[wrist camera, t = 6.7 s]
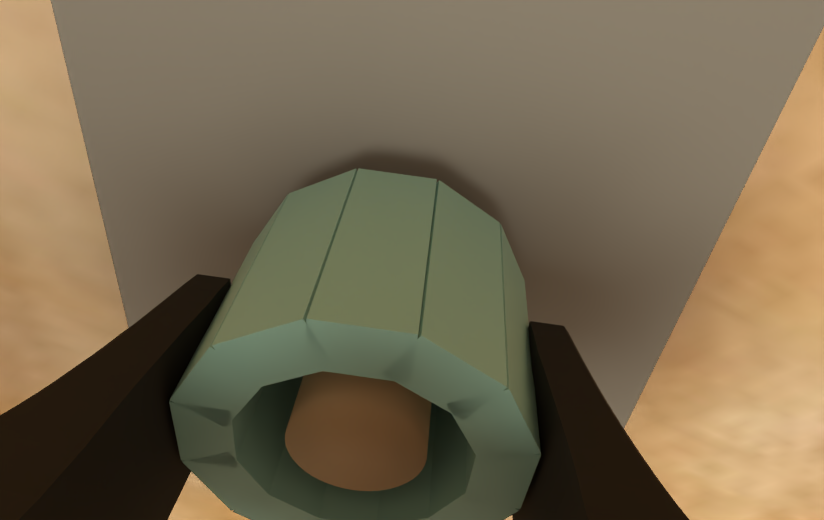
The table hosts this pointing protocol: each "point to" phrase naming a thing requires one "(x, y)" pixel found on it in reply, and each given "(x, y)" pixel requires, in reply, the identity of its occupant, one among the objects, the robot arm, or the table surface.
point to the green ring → (368, 352)
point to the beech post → (358, 431)
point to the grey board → (443, 135)
